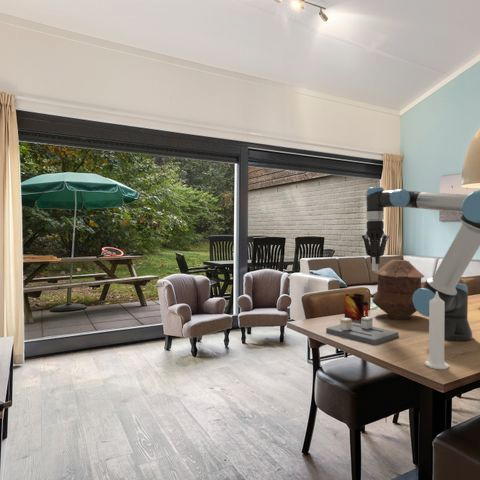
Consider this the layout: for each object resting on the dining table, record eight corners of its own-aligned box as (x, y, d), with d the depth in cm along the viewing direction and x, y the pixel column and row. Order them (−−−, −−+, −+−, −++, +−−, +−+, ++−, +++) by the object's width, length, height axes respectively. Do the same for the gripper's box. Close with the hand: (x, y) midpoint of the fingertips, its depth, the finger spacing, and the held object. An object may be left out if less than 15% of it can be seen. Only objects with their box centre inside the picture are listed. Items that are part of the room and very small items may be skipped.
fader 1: (351, 328, 166) (351, 318, 166) (346, 330, 163) (346, 320, 163) (345, 327, 168) (345, 317, 168) (340, 329, 166) (340, 319, 166)
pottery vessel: (363, 316, 199) (363, 259, 198) (387, 309, 216) (387, 257, 215) (412, 325, 180) (412, 262, 179) (434, 317, 197) (434, 259, 196)
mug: (367, 322, 187) (367, 298, 186) (341, 318, 196) (341, 295, 196) (375, 319, 194) (375, 295, 194) (349, 315, 203) (349, 293, 203)
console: (398, 336, 161) (398, 331, 161) (374, 344, 150) (374, 339, 150) (350, 326, 180) (350, 321, 180) (326, 332, 169) (326, 327, 169)
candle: (440, 361, 130) (441, 289, 130) (453, 369, 123) (453, 292, 123) (420, 362, 130) (421, 289, 130) (431, 369, 123) (432, 293, 122)
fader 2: (372, 327, 168) (372, 317, 168) (367, 329, 166) (367, 319, 165) (366, 326, 171) (366, 316, 170) (361, 327, 168) (361, 317, 168)
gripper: (392, 220, 175) (392, 271, 175) (367, 221, 185) (367, 269, 186) (383, 220, 170) (383, 272, 171) (358, 220, 180) (358, 270, 181)
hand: (375, 270), depth 178 cm, fingers closed
